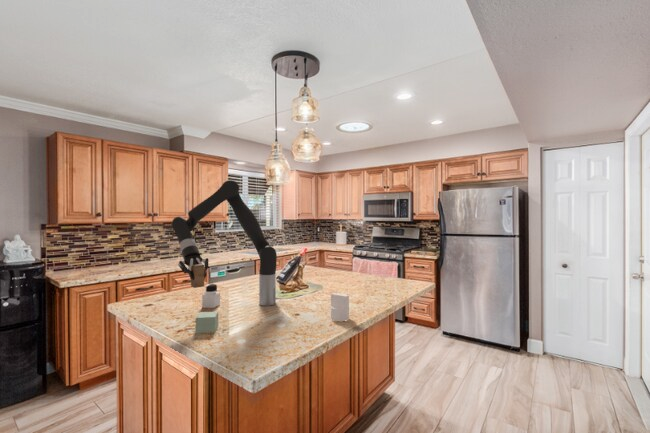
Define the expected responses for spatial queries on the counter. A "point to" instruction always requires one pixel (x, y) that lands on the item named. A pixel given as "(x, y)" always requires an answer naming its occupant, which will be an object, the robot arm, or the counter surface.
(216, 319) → the sage slab upper
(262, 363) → the counter surface
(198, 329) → the sage slab lower
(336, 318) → the light grey block
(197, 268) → the walnut block
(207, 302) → the medicine bottle
